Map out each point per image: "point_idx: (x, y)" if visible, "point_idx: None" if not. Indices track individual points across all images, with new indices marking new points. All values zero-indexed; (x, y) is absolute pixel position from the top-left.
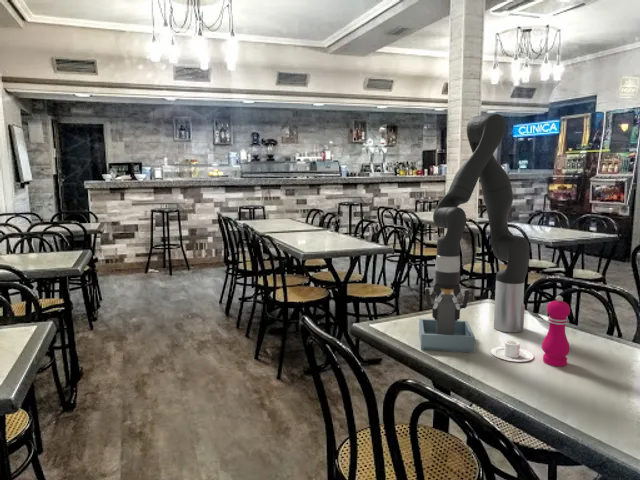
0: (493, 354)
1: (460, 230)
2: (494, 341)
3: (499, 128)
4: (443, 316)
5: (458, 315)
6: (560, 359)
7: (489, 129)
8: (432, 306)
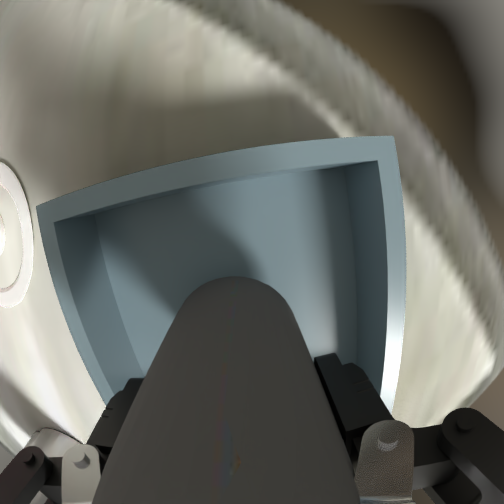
0: (23, 197)
1: None
2: (54, 361)
3: None
4: (250, 351)
5: (111, 412)
6: None
7: None
8: (412, 441)
